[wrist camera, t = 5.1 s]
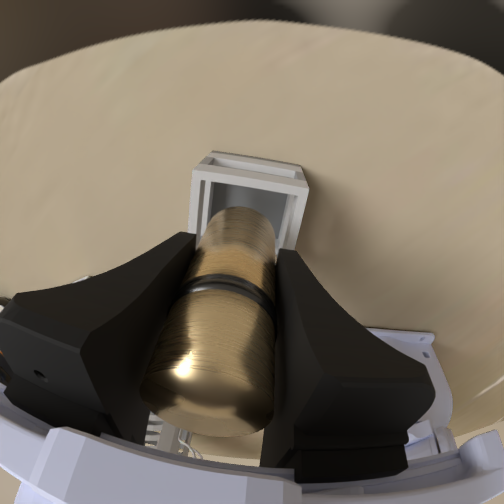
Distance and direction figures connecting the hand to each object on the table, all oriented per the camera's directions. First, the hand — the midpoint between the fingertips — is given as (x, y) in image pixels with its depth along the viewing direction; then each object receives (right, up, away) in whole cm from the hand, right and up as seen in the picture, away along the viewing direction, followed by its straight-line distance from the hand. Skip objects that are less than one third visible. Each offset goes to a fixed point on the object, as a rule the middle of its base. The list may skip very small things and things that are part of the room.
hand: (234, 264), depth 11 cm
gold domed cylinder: (0, +1, +2) cm, 2 cm away
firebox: (0, +4, +6) cm, 7 cm away
